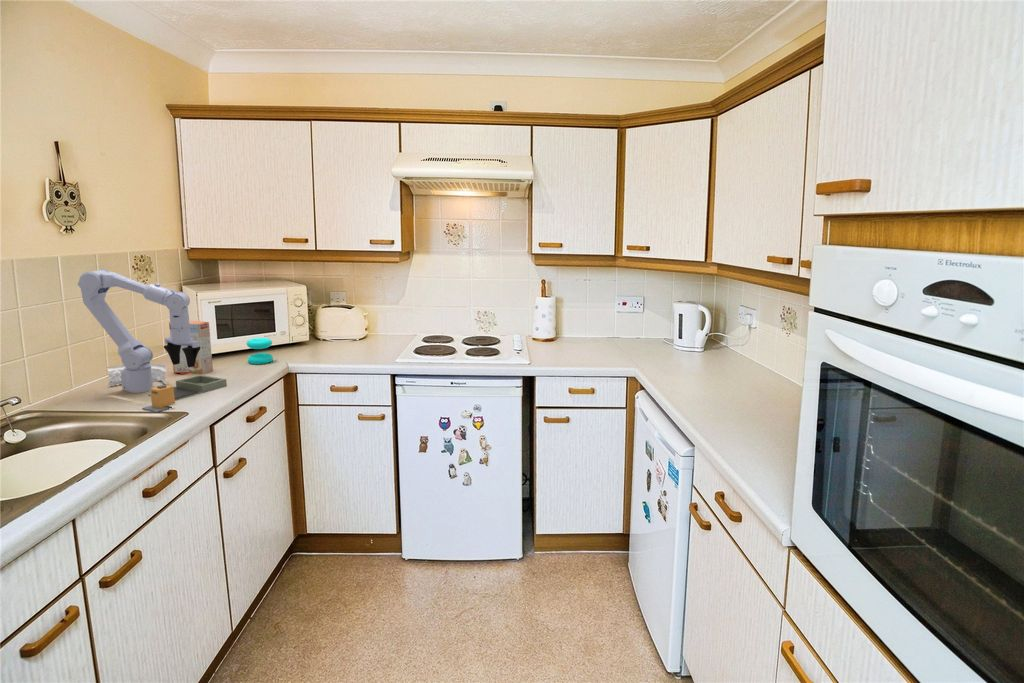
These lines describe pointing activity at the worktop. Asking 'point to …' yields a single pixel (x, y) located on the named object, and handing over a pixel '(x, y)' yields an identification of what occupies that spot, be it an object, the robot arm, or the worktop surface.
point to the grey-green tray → (196, 386)
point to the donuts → (259, 344)
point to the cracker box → (204, 356)
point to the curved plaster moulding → (116, 371)
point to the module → (162, 396)
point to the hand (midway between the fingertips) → (183, 365)
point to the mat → (155, 408)
